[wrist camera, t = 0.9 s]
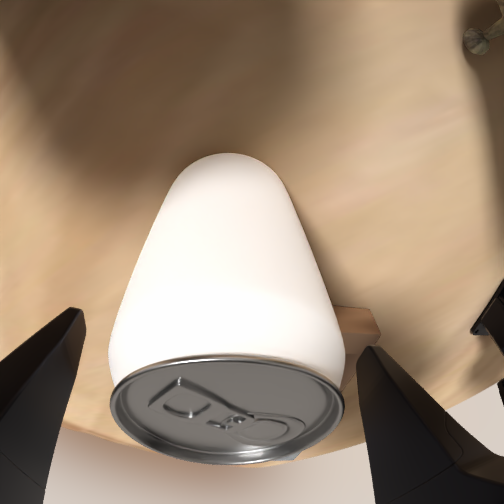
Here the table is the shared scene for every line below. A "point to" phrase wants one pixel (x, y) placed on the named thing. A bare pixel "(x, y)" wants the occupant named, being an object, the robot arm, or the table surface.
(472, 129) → the table surface
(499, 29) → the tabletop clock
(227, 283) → the can
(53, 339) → the robot arm
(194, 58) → the table surface
